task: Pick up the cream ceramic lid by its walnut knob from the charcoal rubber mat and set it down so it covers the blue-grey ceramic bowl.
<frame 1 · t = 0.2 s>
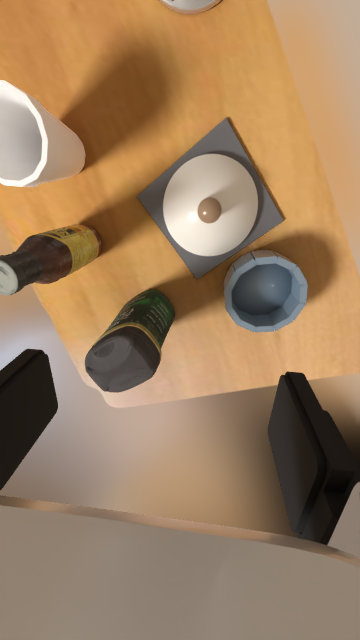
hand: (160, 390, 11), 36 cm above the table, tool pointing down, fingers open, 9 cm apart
foam cup: (65, 153, 40), on the table
lid: (209, 208, 40), resting on mat
bowl: (259, 285, 45), on the table
coffee jar: (148, 311, 50), on the table
mat: (209, 208, 41), on the table
sauce bottle: (85, 242, 45), on the table
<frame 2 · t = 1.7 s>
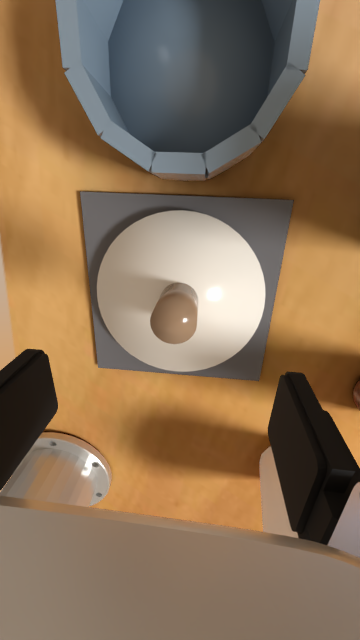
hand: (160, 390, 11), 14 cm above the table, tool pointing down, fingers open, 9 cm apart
foam cup: (287, 460, 30), on the table
lid: (180, 297, 23), resting on mat
bowl: (189, 77, 17), on the table
mat: (180, 295, 23), on the table
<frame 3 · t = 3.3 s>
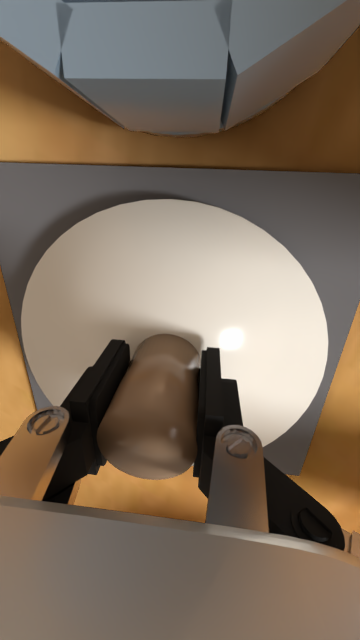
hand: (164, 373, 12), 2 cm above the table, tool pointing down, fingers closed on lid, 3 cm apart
lid: (170, 352, 13), resting on mat, touching gripper
mat: (171, 347, 14), on the table
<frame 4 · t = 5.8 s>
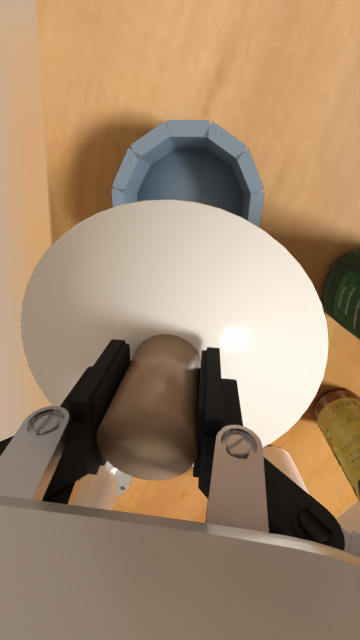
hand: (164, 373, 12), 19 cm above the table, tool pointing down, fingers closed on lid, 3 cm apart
foam cup: (268, 460, 39), on the table
lid: (170, 353, 13), point 17 cm above the table, touching gripper
bowl: (189, 209, 26), on the table
sauce bottle: (337, 406, 34), on the table
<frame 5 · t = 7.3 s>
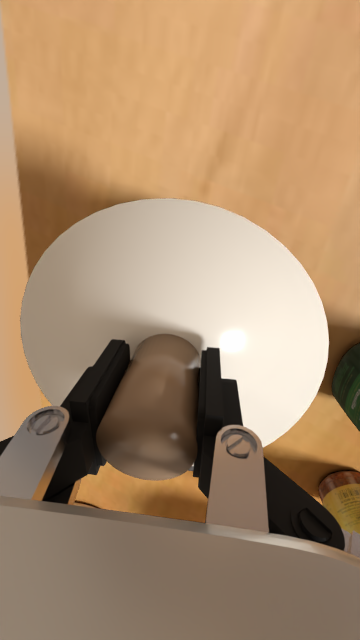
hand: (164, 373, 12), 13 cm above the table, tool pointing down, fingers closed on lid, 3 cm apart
lid: (170, 352, 13), point 11 cm above the table, touching gripper
sauce bottle: (344, 483, 32), on the table
when the fingers open (9 cm above the table, at t = 8.3 s): lid drops 1 cm, resting on bowl.
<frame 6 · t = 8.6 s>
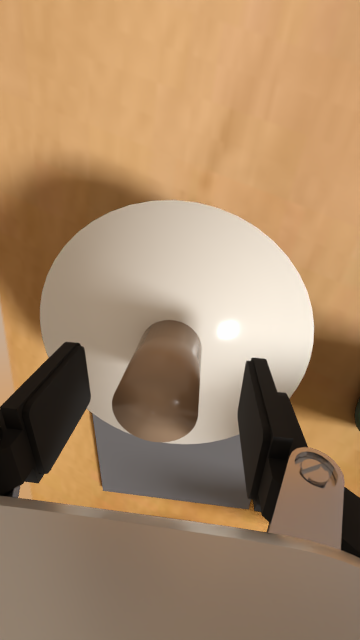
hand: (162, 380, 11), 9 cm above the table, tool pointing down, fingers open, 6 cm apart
lid: (173, 338, 15), point 5 cm above the table, touching bowl
mat: (176, 445, 26), on the table
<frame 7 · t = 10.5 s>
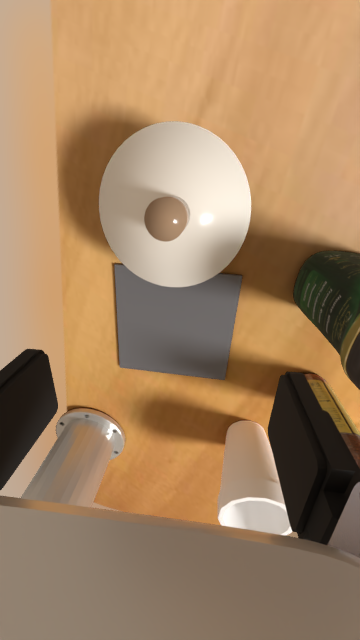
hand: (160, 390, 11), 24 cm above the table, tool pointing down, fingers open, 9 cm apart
foam cup: (245, 433, 45), on the table
lid: (174, 213, 25), point 5 cm above the table, touching bowl
coffee jar: (334, 283, 32), on the table
mat: (174, 325, 37), on the table
sauce bottle: (306, 387, 39), on the table
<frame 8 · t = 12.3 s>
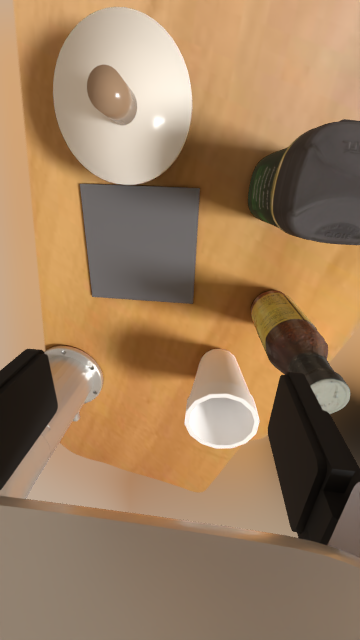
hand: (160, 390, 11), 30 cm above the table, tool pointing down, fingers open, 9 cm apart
foam cup: (218, 363, 46), on the table
lid: (124, 108, 27), point 5 cm above the table, touching bowl
coffee jar: (286, 191, 34), on the table
mat: (141, 247, 39), on the table
sauce bottle: (271, 307, 41), on the table
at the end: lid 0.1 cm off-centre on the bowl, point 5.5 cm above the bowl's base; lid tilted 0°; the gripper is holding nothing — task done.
